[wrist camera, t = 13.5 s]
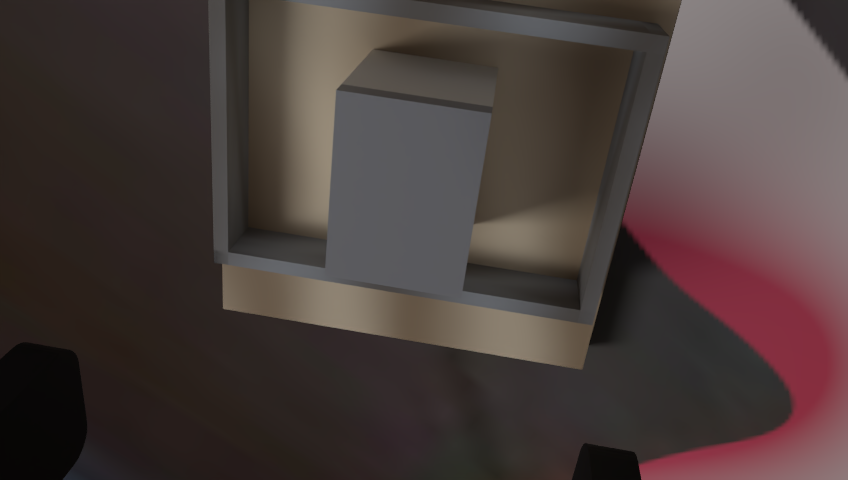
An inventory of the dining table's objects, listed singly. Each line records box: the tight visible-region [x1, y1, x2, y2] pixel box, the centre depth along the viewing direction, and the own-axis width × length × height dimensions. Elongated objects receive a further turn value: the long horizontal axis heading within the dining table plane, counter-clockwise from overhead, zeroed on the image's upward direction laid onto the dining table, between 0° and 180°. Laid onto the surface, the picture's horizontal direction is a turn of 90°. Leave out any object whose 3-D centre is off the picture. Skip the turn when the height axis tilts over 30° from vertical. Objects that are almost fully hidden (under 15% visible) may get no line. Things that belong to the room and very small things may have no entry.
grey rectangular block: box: [325, 49, 498, 298], centre depth 22 cm, size 4×6×5 cm
